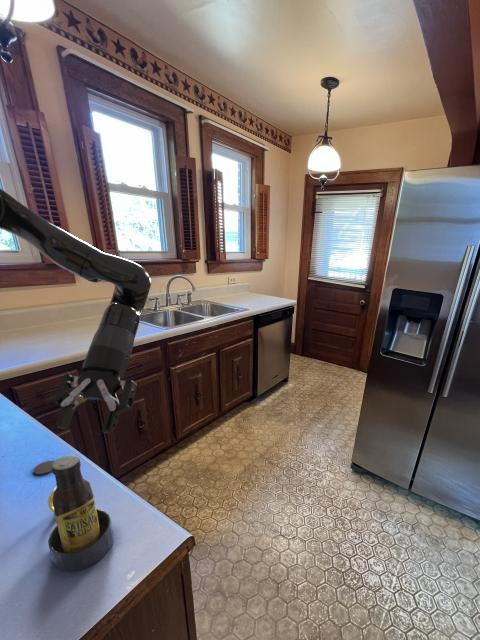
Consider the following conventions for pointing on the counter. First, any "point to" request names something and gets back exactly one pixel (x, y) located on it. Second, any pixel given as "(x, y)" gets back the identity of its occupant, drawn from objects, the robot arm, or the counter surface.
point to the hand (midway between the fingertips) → (84, 430)
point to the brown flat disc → (43, 468)
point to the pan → (87, 555)
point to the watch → (51, 500)
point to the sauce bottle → (74, 506)
